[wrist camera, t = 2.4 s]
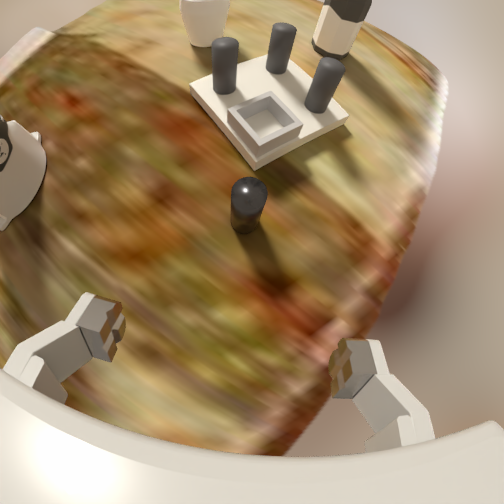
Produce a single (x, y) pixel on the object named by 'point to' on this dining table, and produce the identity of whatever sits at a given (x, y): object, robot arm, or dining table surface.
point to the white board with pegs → (269, 98)
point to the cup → (204, 20)
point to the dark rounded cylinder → (247, 204)
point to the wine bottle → (339, 26)
